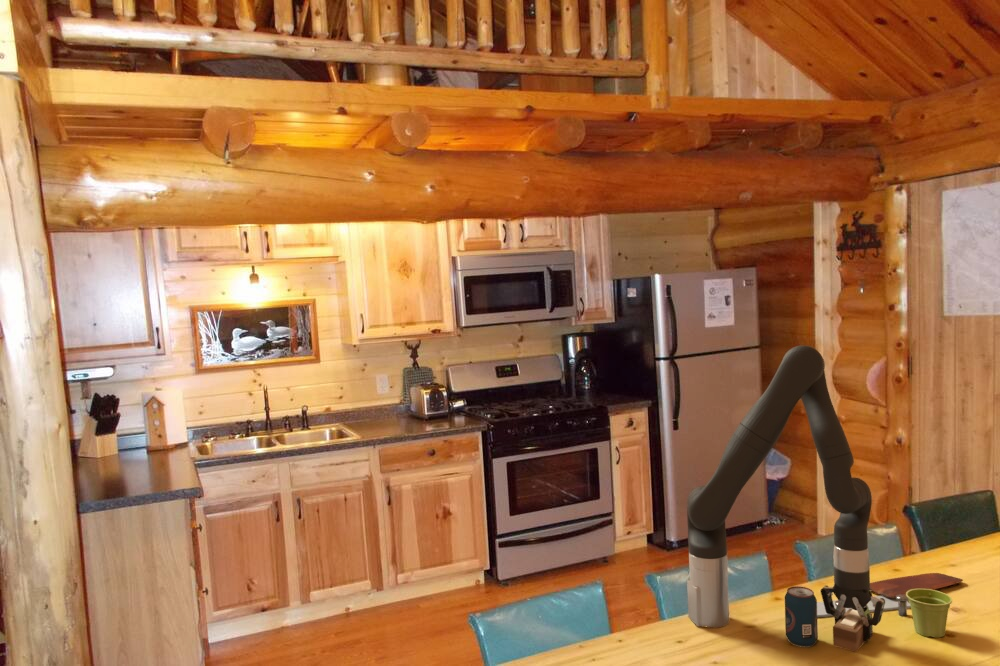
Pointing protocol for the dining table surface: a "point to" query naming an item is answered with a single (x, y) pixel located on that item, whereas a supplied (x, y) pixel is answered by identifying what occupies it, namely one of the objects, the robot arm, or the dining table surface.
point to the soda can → (801, 616)
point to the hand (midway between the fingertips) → (853, 636)
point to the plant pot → (929, 611)
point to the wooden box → (849, 631)
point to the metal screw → (844, 609)
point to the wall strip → (889, 605)
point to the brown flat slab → (912, 584)
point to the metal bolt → (902, 604)
